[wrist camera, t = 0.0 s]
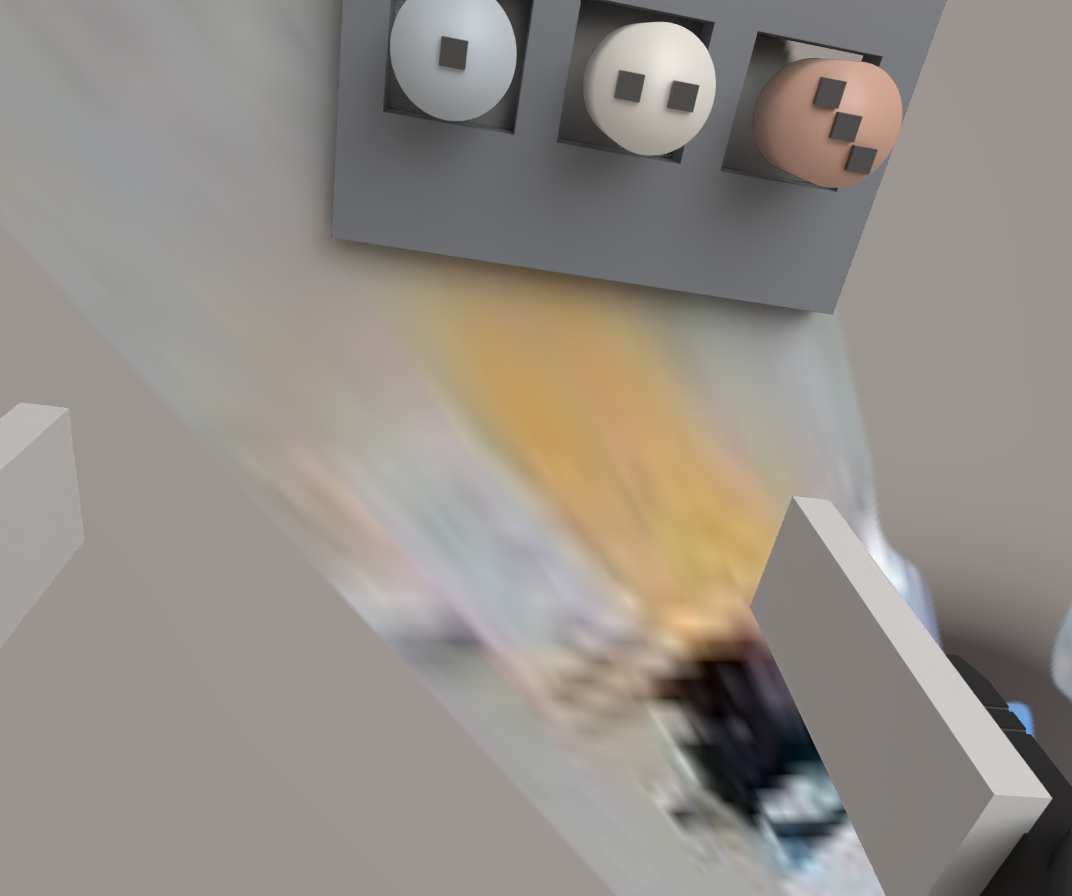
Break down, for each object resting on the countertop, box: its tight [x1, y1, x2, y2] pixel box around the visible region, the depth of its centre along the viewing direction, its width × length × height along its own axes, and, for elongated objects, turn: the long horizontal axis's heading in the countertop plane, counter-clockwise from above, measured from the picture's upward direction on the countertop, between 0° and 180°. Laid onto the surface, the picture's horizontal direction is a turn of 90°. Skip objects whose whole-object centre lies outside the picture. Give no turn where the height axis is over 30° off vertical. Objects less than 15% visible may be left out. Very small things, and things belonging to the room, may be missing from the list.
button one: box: [390, 0, 517, 121], centre depth 31 cm, size 5×5×5 cm
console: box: [331, 0, 946, 314], centre depth 36 cm, size 18×26×2 cm
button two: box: [582, 22, 716, 156], centre depth 32 cm, size 5×5×5 cm
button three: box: [752, 58, 902, 188], centre depth 33 cm, size 5×5×5 cm
